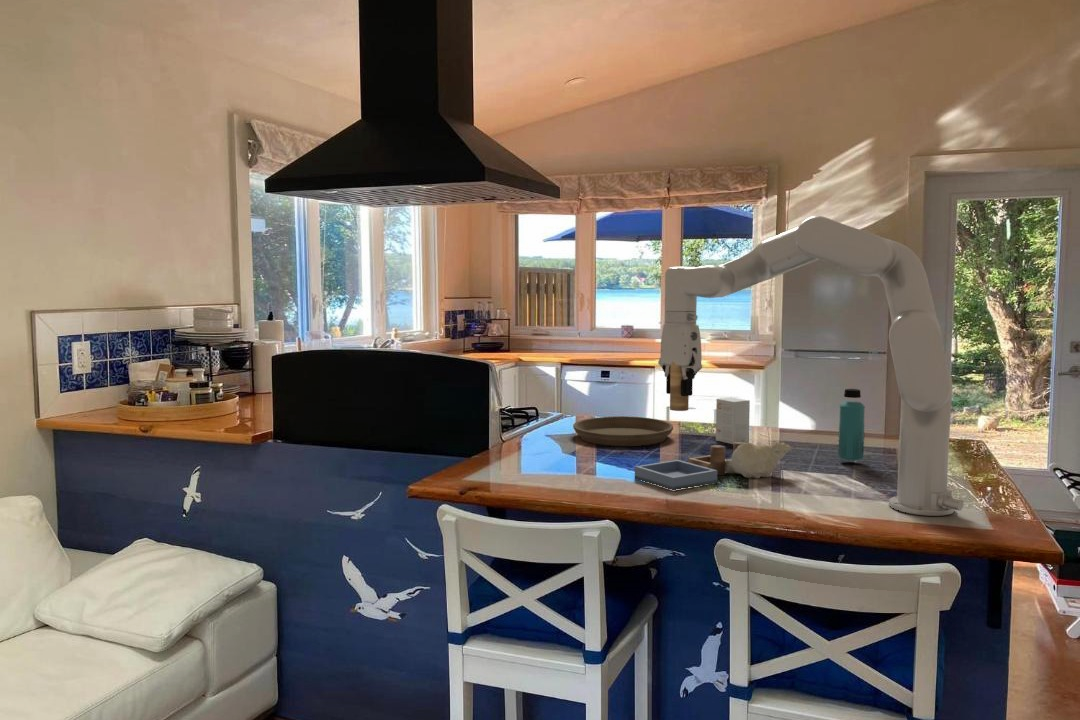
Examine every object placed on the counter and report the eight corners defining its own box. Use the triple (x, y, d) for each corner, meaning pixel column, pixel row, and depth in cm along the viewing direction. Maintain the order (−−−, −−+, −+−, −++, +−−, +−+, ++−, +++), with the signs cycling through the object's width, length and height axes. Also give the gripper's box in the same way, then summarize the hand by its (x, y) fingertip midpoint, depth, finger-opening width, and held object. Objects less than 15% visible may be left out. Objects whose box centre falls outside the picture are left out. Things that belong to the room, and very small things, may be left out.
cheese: (719, 487, 197) (765, 456, 189) (709, 462, 202) (754, 430, 194) (757, 497, 206) (803, 467, 198) (747, 472, 211) (791, 442, 202)
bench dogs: (750, 470, 206) (750, 443, 206) (717, 476, 200) (717, 448, 199) (739, 467, 209) (740, 441, 209) (707, 473, 203) (707, 446, 202)
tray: (717, 483, 193) (717, 470, 193) (673, 491, 185) (673, 477, 185) (677, 472, 205) (677, 459, 204) (634, 479, 197) (634, 466, 197)
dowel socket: (730, 467, 209) (730, 460, 209) (708, 471, 205) (709, 463, 205) (709, 462, 216) (709, 455, 216) (688, 465, 212) (688, 458, 212)
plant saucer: (618, 453, 229) (618, 437, 229) (553, 436, 254) (553, 422, 254) (694, 440, 248) (694, 426, 247) (626, 426, 272) (626, 413, 272)
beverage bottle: (865, 466, 211) (868, 390, 209) (839, 465, 212) (841, 390, 211) (861, 461, 217) (863, 387, 216) (835, 459, 219) (837, 387, 217)
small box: (749, 443, 242) (750, 400, 241) (733, 445, 239) (734, 401, 238) (730, 438, 249) (731, 397, 248) (714, 440, 246) (715, 398, 245)
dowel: (678, 411, 191) (679, 361, 190) (666, 409, 195) (666, 359, 194) (692, 409, 194) (692, 360, 193) (679, 407, 197) (680, 359, 196)
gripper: (717, 319, 187) (715, 397, 189) (668, 317, 201) (667, 389, 203) (693, 320, 183) (692, 399, 185) (645, 318, 197) (644, 391, 199)
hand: (679, 393), depth 194 cm, fingers closed on dowel, 4 cm apart
